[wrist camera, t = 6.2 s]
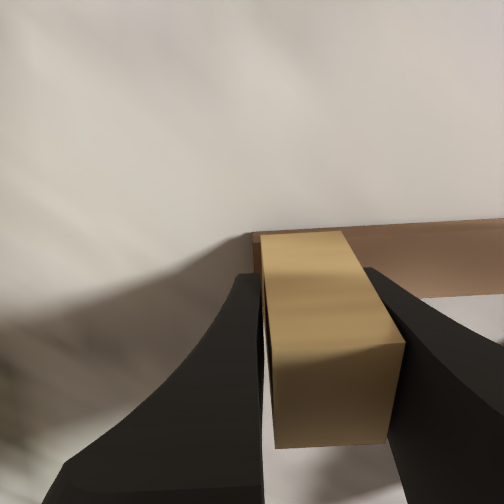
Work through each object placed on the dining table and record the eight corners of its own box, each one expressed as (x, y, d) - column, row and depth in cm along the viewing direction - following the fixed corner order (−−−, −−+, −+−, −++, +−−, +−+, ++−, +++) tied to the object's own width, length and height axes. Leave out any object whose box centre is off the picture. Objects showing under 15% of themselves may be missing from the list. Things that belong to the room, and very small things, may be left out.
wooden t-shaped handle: (575, 433, 17) (713, 588, 12) (264, 449, 17) (273, 611, 12) (712, 200, 12) (1075, 306, 7) (252, 225, 12) (258, 350, 7)
